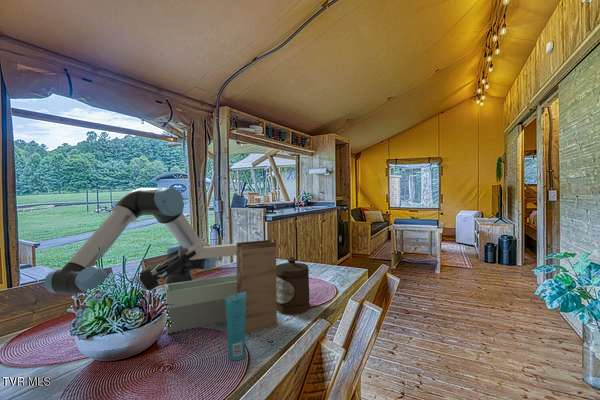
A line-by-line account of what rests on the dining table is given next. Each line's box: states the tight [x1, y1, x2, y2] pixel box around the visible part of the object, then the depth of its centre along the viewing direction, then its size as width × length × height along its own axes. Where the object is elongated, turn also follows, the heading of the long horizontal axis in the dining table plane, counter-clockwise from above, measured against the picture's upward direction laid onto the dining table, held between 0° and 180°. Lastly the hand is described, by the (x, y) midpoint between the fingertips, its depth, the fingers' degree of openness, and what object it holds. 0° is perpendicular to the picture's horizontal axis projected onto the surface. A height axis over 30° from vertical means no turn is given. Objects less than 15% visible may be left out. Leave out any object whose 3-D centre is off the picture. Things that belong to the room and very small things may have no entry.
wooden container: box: [276, 256, 310, 316], centre depth 125 cm, size 15×15×22 cm
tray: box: [164, 273, 237, 335], centre depth 114 cm, size 10×31×15 cm, turn 119°
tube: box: [225, 291, 246, 361], centre depth 88 cm, size 7×5×19 cm, turn 140°
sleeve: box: [179, 243, 237, 260], centre depth 114 cm, size 4×22×4 cm, turn 119°
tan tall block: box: [236, 239, 278, 335], centre depth 108 cm, size 7×13×32 cm, turn 119°
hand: (201, 245), depth 112 cm, fingers closed on sleeve, 4 cm apart
